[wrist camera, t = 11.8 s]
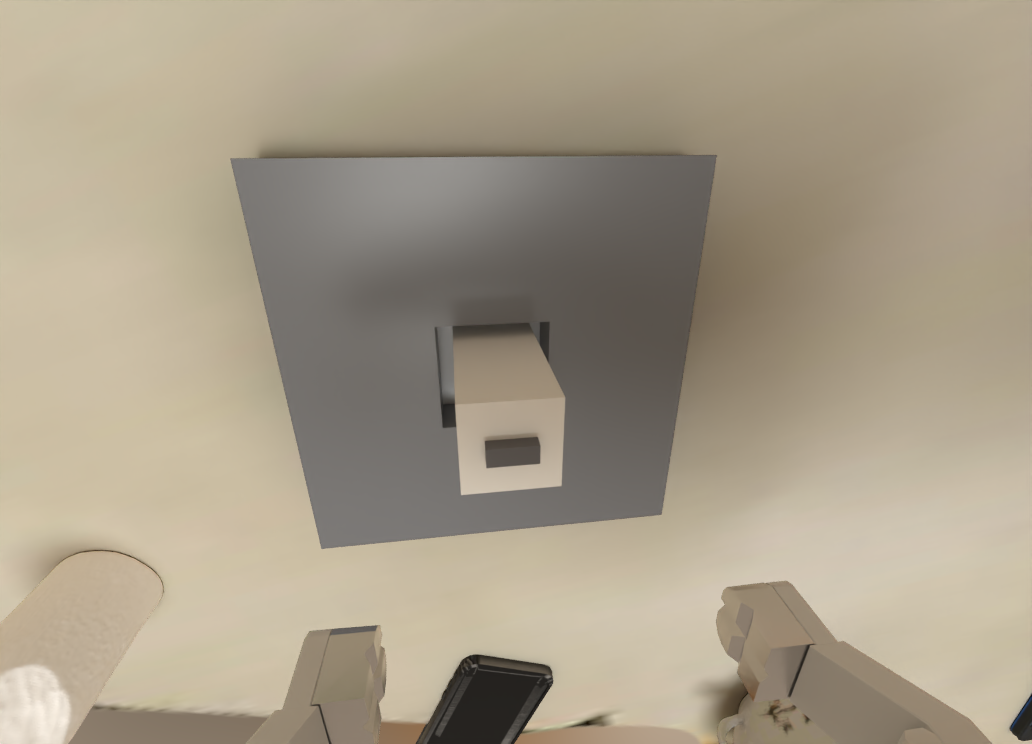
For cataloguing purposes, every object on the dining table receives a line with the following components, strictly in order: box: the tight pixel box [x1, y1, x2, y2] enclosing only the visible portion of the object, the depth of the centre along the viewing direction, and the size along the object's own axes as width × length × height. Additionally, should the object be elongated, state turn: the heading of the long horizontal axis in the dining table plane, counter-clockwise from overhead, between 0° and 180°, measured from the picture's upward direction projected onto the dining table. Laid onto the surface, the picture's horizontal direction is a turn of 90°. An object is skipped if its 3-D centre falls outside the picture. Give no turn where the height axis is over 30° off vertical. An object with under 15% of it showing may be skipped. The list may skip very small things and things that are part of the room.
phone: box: [416, 655, 553, 744], centre depth 40 cm, size 8×1×15 cm
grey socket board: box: [231, 155, 717, 549], centre depth 25 cm, size 20×20×3 cm
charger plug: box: [453, 323, 565, 495], centre depth 22 cm, size 4×4×10 cm
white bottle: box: [0, 551, 163, 744], centre depth 24 cm, size 6×12×6 cm
